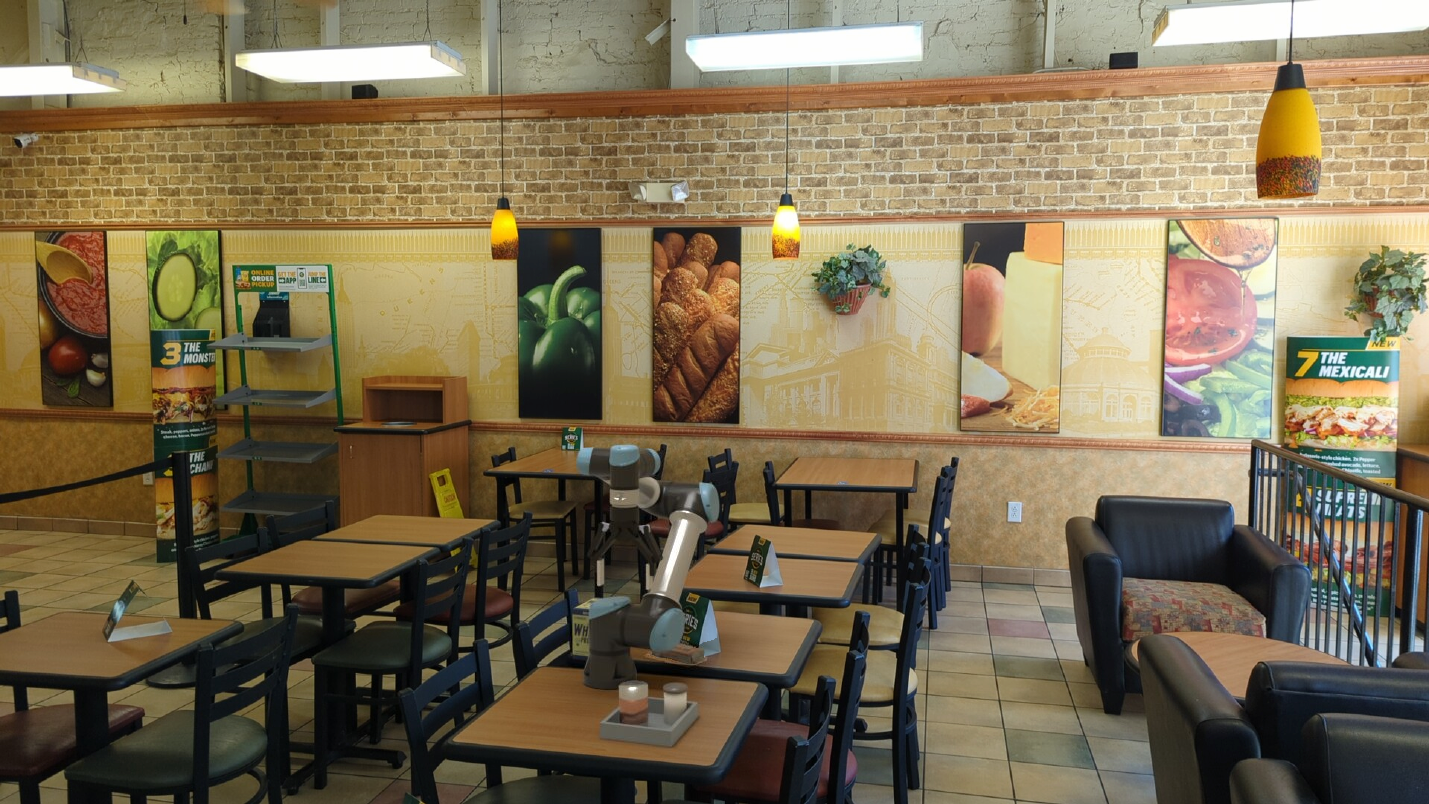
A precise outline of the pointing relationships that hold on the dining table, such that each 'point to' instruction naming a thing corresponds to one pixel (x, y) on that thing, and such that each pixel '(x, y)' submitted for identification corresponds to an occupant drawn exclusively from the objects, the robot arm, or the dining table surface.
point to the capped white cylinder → (674, 707)
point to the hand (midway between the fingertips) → (624, 586)
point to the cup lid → (675, 688)
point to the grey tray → (649, 726)
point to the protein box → (581, 630)
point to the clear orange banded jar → (633, 703)
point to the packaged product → (682, 654)
